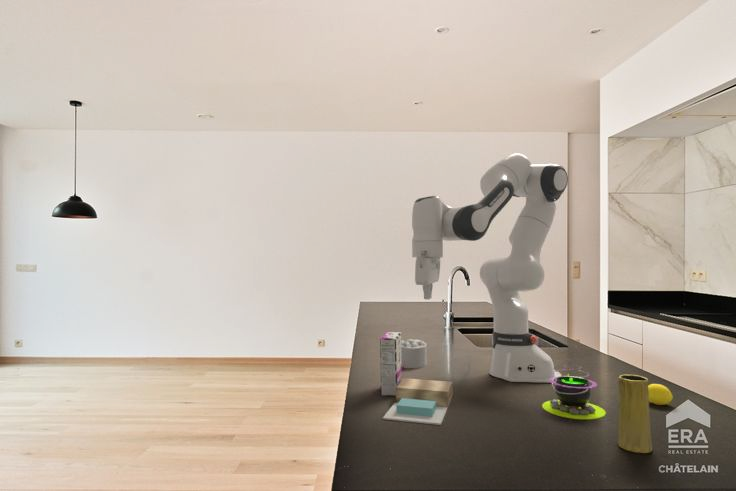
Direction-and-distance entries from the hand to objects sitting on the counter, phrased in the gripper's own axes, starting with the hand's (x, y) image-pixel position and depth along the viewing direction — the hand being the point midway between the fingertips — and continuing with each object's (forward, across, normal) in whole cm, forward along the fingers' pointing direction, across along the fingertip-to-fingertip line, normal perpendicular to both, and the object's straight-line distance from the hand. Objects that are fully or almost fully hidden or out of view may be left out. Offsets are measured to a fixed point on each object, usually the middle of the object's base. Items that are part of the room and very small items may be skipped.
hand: (427, 299), depth 134 cm
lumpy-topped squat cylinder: (+27, +34, +12) cm, 45 cm away
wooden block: (+27, -6, 0) cm, 28 cm away
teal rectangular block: (+25, -18, 0) cm, 30 cm away
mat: (+27, -18, 0) cm, 33 cm away
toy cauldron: (+28, -4, -38) cm, 47 cm away
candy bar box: (+27, 0, +11) cm, 29 cm away
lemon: (+27, +7, -60) cm, 66 cm away
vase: (+27, -26, -47) cm, 60 cm away
